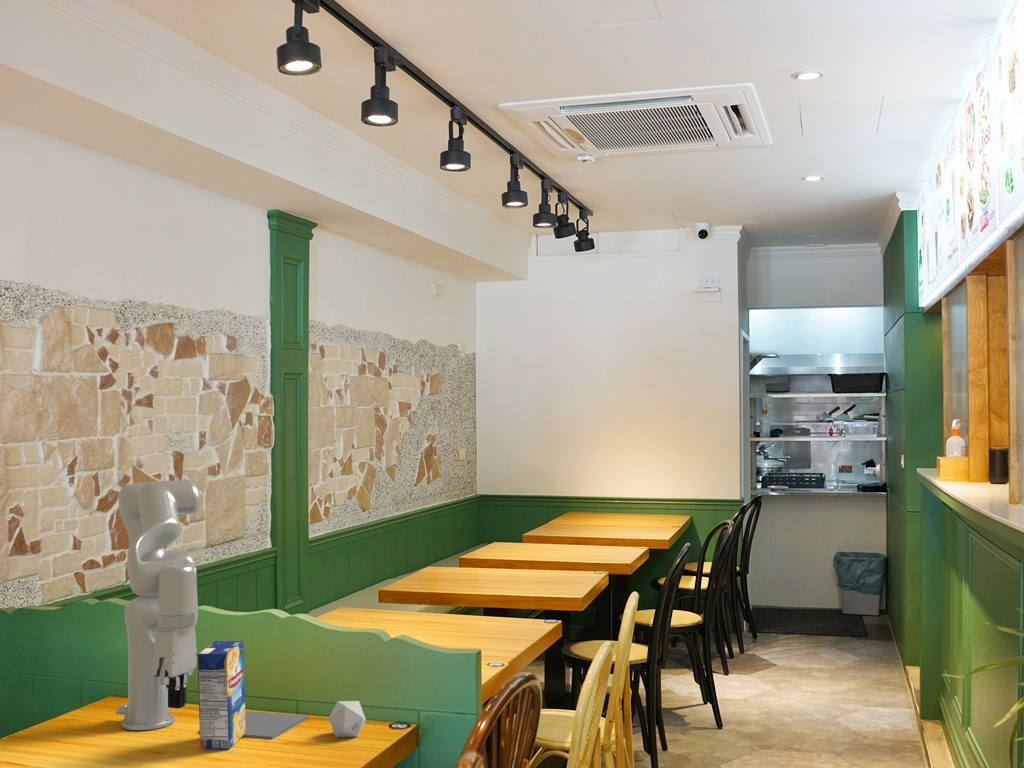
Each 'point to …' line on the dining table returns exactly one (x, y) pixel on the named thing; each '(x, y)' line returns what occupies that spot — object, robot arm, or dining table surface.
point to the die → (347, 719)
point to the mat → (269, 724)
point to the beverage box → (221, 695)
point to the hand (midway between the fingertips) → (176, 706)
